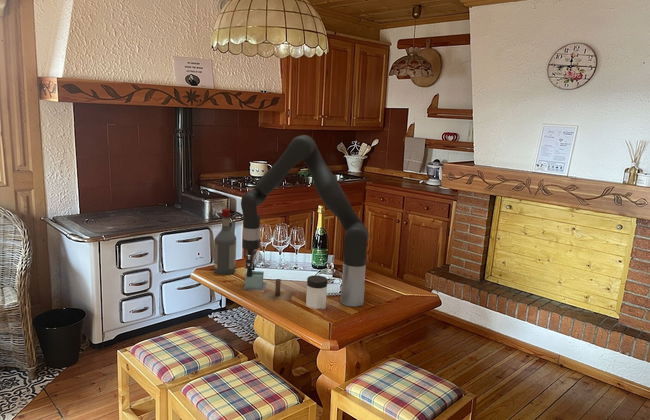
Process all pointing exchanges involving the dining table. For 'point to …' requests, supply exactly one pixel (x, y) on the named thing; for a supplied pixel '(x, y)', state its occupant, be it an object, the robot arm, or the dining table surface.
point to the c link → (254, 280)
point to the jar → (316, 292)
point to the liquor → (225, 248)
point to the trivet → (257, 288)
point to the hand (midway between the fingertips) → (250, 273)
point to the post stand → (277, 293)
